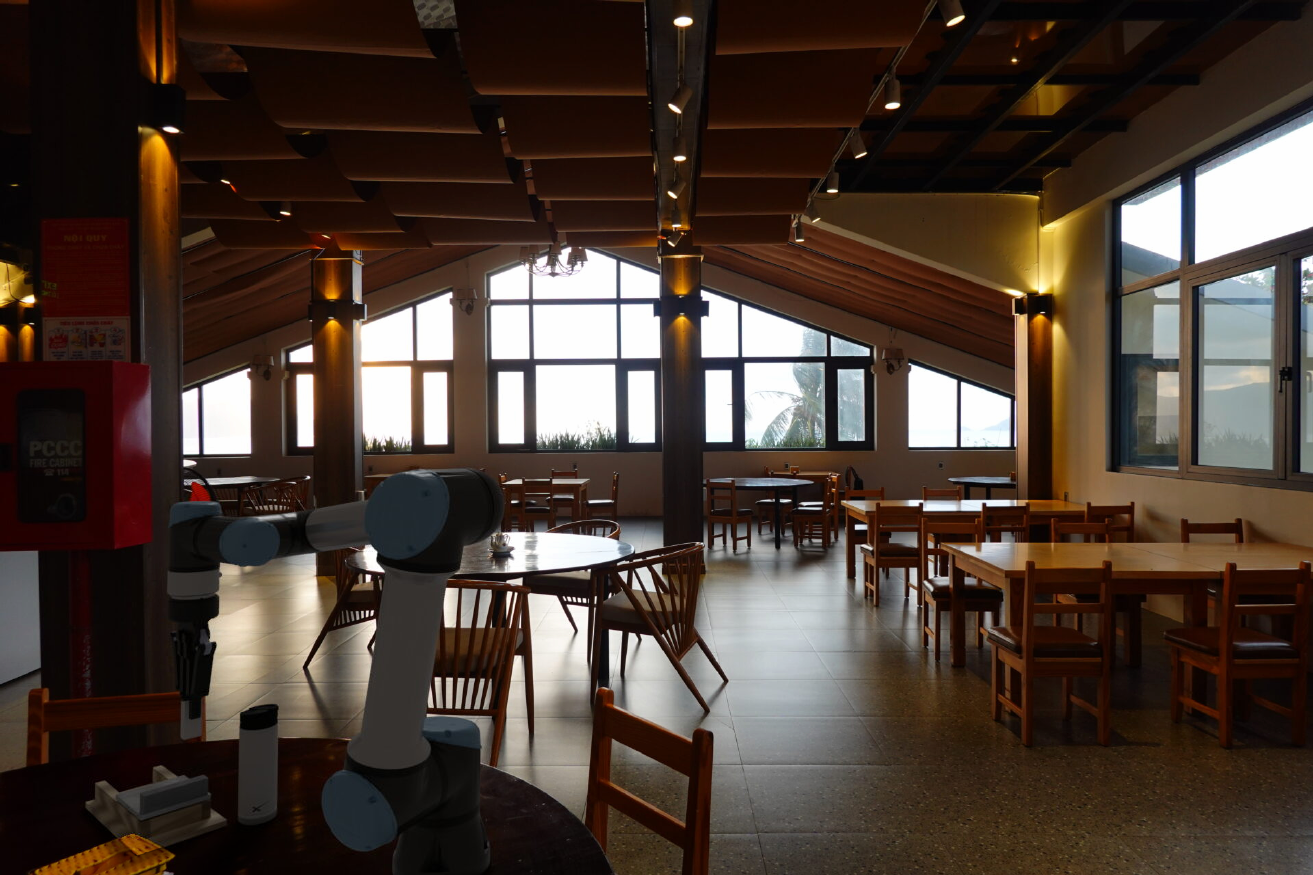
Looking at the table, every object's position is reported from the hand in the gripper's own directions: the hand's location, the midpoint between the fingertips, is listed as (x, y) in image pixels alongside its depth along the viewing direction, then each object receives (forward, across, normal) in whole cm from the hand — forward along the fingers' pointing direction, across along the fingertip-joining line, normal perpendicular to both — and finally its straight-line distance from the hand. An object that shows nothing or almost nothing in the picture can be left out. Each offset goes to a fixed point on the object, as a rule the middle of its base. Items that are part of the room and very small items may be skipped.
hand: (191, 736), depth 136 cm
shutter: (+14, +12, 0) cm, 18 cm away
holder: (+18, +16, 0) cm, 24 cm away
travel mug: (+18, +2, -12) cm, 22 cm away
